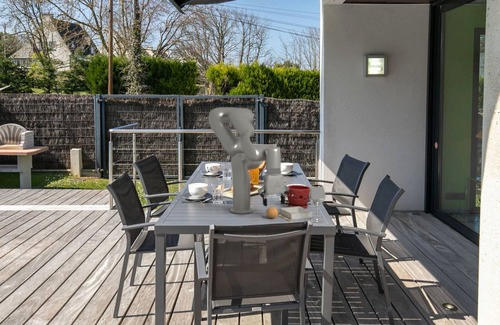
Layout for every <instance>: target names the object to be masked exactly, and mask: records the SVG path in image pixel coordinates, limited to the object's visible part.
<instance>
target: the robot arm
mask: <svg viewBox="0 0 500 325" xmlns="http://www.w3.org/2000/svg"><path fill="white" fill-rule="evenodd" d="M253 121H254V113H253V112H252V110H251V109H249V108H247V107H246V108H245V107H244V108H243V107H226V106H225V107H223V106H222V107H216V108H215V107H214V108H212V109H211V110H210V112H209V114H208V123H209V126H210V128H211V130H212V132H213V133H214V134H215V135H216V137H217V139H218V140H219V142H220V144H221V145H222V147H223V149H224V150H225V152H226V153H227V154H228V155H231V156H232V157H231V159H230V166H231V167H230V168H231V171H232V207H231V208H229V212H230V213H232V214H241V215H242V214H243V215H246V214H251V213H253V212H254V209H253V208H252V207H251V175H250V174H249V171H250V170H256V169H258V168H259V167H260V165H261V164H262V162H264V161H265V169H263V173H264V178H263V186H262V187H259V189H257V193H258V195H259V196H260V197H261V198H262V205H263V206H264V207H268V198H267V197H268V196H271V195H280V205H283V206H284V205H285V203H286V197H287V193H288V191H289V187H287V185H285V180H284V179H285V178H284V175H283V173H282V163H281V148H280V147H279V146H267V145H261V146H254V144H253V143H252V141H251V139H250V138H251V136H253V134H254V133H255V127H254V125H253V124H252V122H253ZM227 123H228V124H229V123H230V124H231V125H232V126H233V127H234V129H235V131H236V132H237V133H238V135H239V136H236V134H235V133H234V132H233V131H232V129H231V128H230V126H228V125H226V124H227Z"/></svg>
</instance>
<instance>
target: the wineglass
mask: <svg viewBox="0 0 500 325" xmlns="http://www.w3.org/2000/svg"><path fill="white" fill-rule="evenodd" d="M325 200H326V192H325V187H324V185H322V184H312V185H311V186H310V193H309V201H310V202H311V203H312V204H313V205H314V206H315V218H313V219H312V218H310V220H311V221H312V222H311V221H310V222H311V223H315V222H320V223H323V222H322V221H323V219H320V218H318V213H319V212H318V208H319V206H320V205H322V203H324V202H325Z"/></svg>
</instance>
